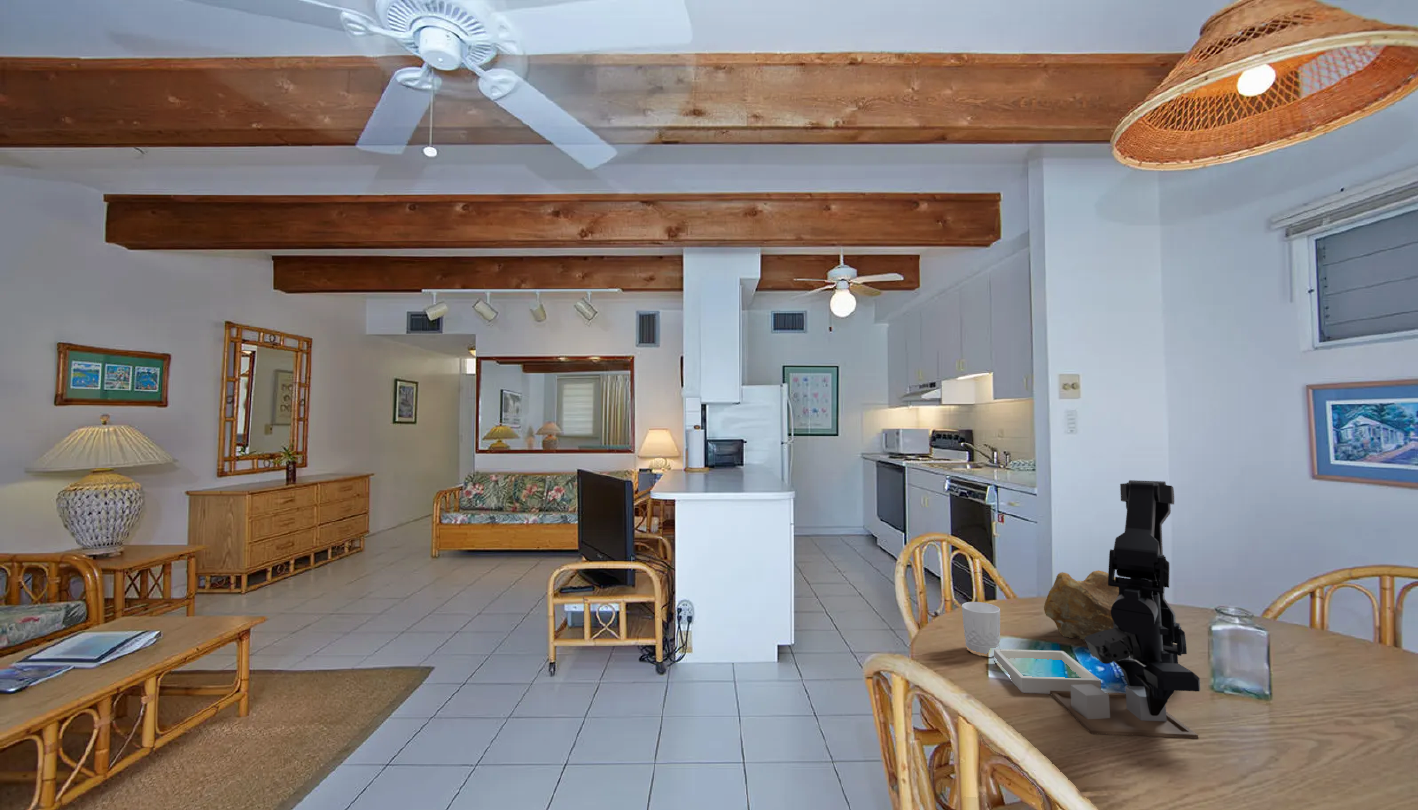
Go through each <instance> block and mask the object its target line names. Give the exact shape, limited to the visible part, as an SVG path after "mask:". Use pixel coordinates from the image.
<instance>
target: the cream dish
mask: <svg viewBox="0 0 1418 810" xmlns="http://www.w3.org/2000/svg"><path fill="white" fill-rule="evenodd" d="M994 657H995V658H996V659H997V661H998V662H999V663H1000V664H1001V665H1002V667H1003V668H1004V669H1005V670H1006V671H1007V672H1008V674H1009V675H1010V678H1011V680H1012V681H1011V680H1010V681H1011V682H1012V683H1013V685H1015V687H1016V686H1017V687H1018V688H1017V687H1016V688H1017V689H1018V690H1019V691H1020V692H1021V693H1022V694H1024V693H1025V694H1049V695H1051V694H1050V691H1071V688H1070V685H1080V684H1093V685H1094V686H1096V687H1098V688H1099V689H1101V690H1102V683H1101V682H1102V680H1101V679H1100V678H1098V677H1097V676H1096V675H1095V674H1094V673H1092V672H1090V671H1089V670H1088V669H1087V668H1085V667H1084V666H1083V665H1082V664H1081V663H1079V662H1078V661H1077V660H1075V658H1073V657H1071V656H1070V655H1069V653H1066V651H1064V650H1040V649H1039V650H1038V649H1006V648H1005V649H1004V648H1003V649H1000V648H999V649H994ZM994 657H993V658H994ZM1007 658H1008V659H1010V658H1014V659H1015V658H1034V659H1047V660H1049V659H1052V660H1062V661H1063V662H1064V663H1065V664H1067V665H1068V666H1069V667H1070V669H1071V670H1072V671H1074V672H1076V674H1078V676H1079V677H1081V678H1065V677H1032V676H1023V675H1022V674H1021V673H1020V672H1019V671H1018V670H1017V669H1016V668H1015V667H1014V666H1013V665H1012V664H1011V663H1010V662H1009V661H1008V659H1007Z"/></svg>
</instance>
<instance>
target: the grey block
mask: <svg viewBox="0 0 1418 810" xmlns="http://www.w3.org/2000/svg"><path fill="white" fill-rule="evenodd" d="M1124 687H1125V688H1124V689H1125V693H1126V706H1127V709H1128V710H1129V711H1130V712H1131V713H1133V714H1134V715H1135V716H1136V717H1137V718H1139V719H1140V720H1143V721H1167V718H1166V712H1167V705H1166V704H1167V703H1166V704H1165V706H1164V707H1163V709H1162V710H1161V712H1160V714H1159V715H1158V716H1152V715H1151V714H1150V712H1149V708H1148V703H1147V698H1146V692H1145V687H1144V686H1128V685H1125V686H1124Z"/></svg>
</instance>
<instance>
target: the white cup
mask: <svg viewBox="0 0 1418 810" xmlns="http://www.w3.org/2000/svg"><path fill="white" fill-rule="evenodd" d="M961 612H962V623H963V624H962V625H963V631H964V632H963V633H964V638H965V647H966V646H967V647H968V648H969V649H971V650H973V651H976V652H980V653H984V654H987V653H988V652H989V650H990V648H996V647H998V646H999V647H1000V641H1001V637H1000V636H1001V635H1000V634H1001V609H1000V607H999V606H996V605H995V604H991V603H987V602H980V601H968V602H964V603H962V604H961Z"/></svg>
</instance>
